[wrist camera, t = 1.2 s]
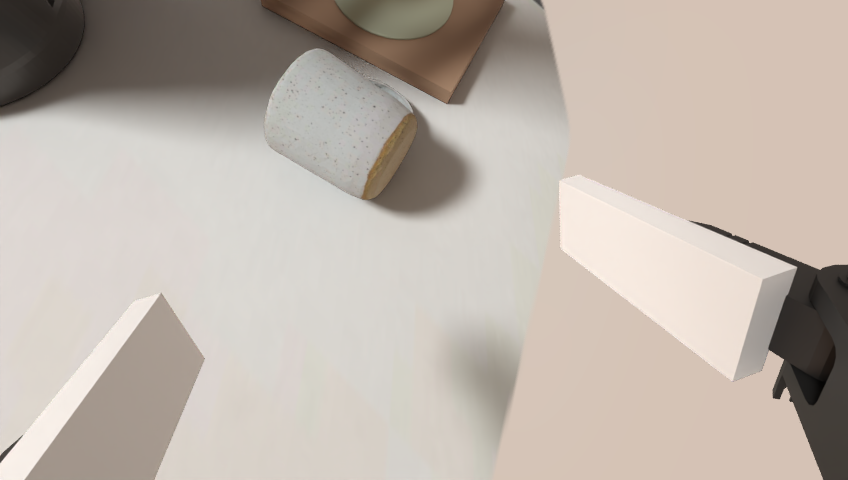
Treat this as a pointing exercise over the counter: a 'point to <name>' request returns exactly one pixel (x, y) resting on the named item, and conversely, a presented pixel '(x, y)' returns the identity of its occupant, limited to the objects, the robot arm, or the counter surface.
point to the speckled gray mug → (339, 123)
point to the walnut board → (401, 34)
